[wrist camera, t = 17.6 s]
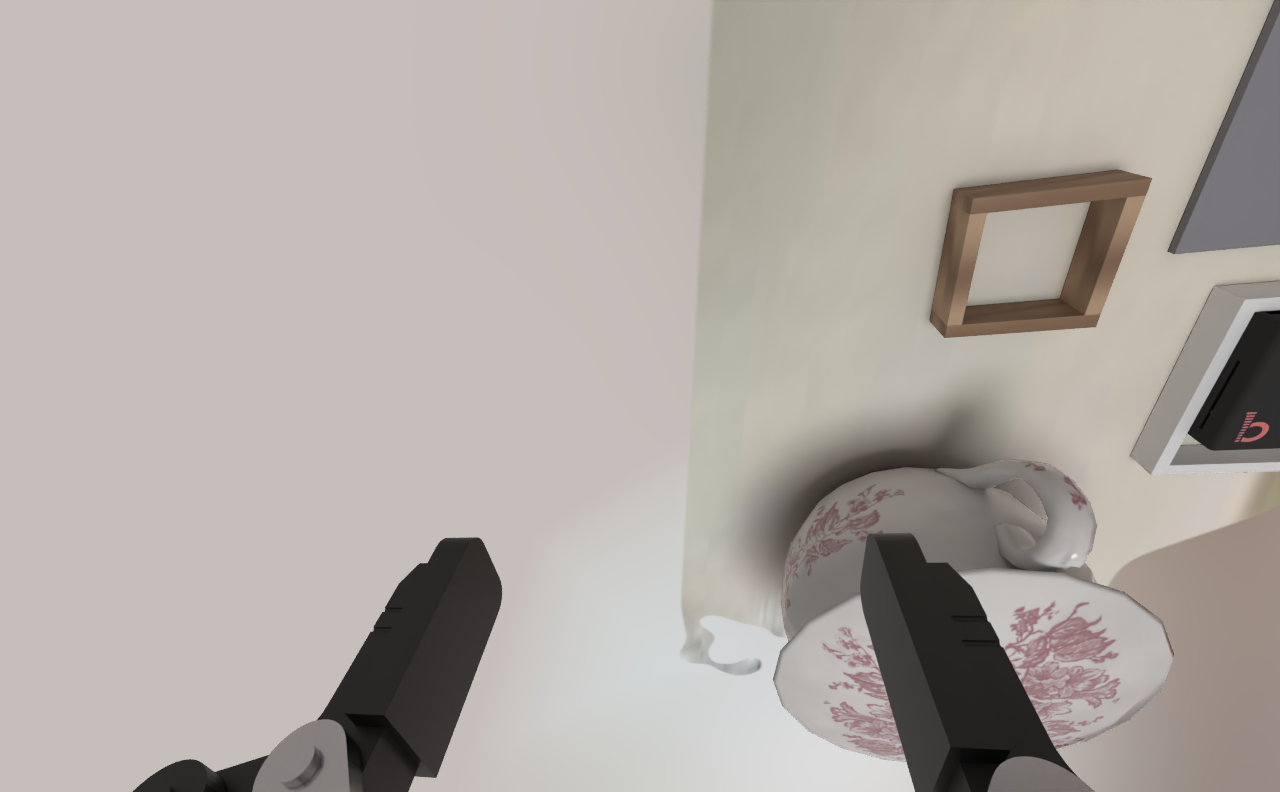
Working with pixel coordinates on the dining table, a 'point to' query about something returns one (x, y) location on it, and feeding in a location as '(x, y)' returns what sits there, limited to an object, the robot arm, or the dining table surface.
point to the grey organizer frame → (1205, 388)
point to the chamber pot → (1004, 583)
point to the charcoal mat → (1242, 162)
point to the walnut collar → (1090, 268)
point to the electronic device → (1245, 392)
